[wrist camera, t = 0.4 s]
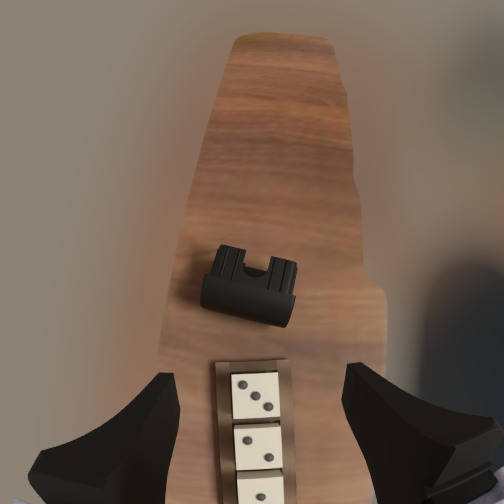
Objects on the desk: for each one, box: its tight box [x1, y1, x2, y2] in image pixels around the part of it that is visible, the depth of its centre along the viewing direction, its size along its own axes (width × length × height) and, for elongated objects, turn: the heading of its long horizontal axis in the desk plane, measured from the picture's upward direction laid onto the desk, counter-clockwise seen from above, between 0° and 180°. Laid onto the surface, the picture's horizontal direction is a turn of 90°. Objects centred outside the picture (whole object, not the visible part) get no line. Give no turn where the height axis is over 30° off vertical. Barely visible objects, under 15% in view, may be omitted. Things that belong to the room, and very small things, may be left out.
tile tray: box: [215, 359, 297, 504], centre depth 32 cm, size 20×9×1 cm, turn 3°
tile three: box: [231, 372, 280, 419], centre depth 33 cm, size 5×5×3 cm
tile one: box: [237, 469, 284, 504], centre depth 28 cm, size 5×5×3 cm
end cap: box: [200, 245, 297, 328], centre depth 37 cm, size 10×7×7 cm
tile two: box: [234, 423, 283, 470], centre depth 30 cm, size 5×5×3 cm
